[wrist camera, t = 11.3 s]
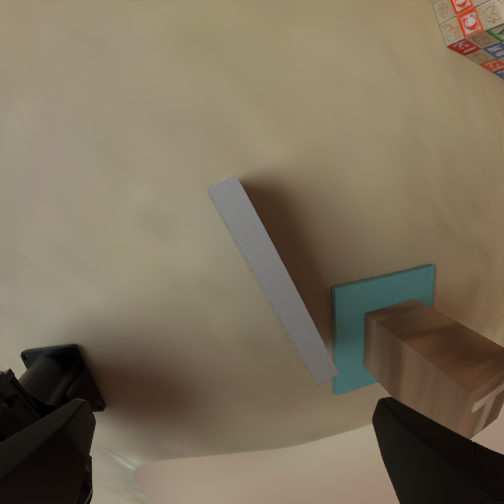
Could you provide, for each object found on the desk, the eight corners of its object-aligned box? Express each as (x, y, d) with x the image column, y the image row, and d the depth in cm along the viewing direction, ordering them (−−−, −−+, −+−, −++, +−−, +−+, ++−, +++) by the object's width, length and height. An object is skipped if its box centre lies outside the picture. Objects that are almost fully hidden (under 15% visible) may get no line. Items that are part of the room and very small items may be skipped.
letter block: (362, 365, 23) (447, 456, 11) (364, 312, 22) (472, 395, 10) (408, 348, 23) (498, 419, 11) (413, 298, 22) (522, 358, 10)
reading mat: (333, 391, 23) (335, 395, 23) (331, 286, 21) (334, 288, 21) (421, 359, 25) (424, 362, 24) (430, 263, 23) (434, 265, 22)
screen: (294, 346, 22) (318, 386, 16) (207, 192, 19) (207, 189, 14) (310, 336, 22) (339, 373, 17) (227, 181, 19) (235, 174, 14)
